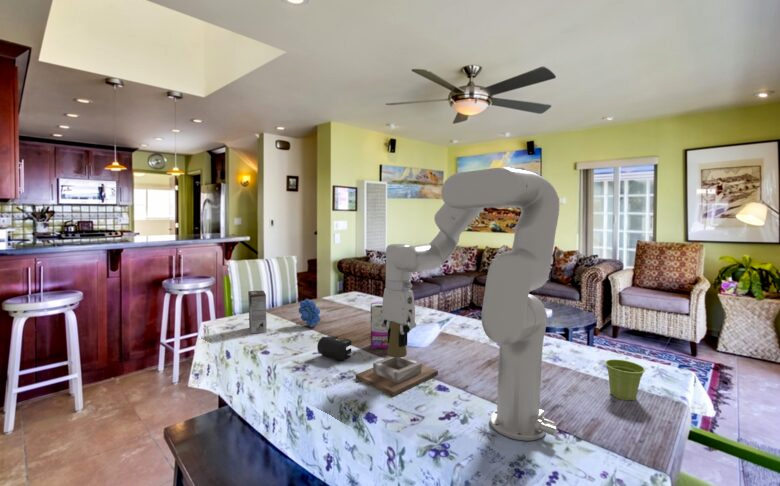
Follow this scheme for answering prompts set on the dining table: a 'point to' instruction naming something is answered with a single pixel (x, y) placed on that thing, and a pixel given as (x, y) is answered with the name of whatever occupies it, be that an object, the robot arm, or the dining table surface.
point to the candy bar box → (378, 328)
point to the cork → (395, 342)
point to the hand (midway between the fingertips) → (397, 343)
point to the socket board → (396, 374)
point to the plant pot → (624, 378)
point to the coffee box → (257, 311)
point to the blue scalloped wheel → (309, 312)
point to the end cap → (334, 347)
